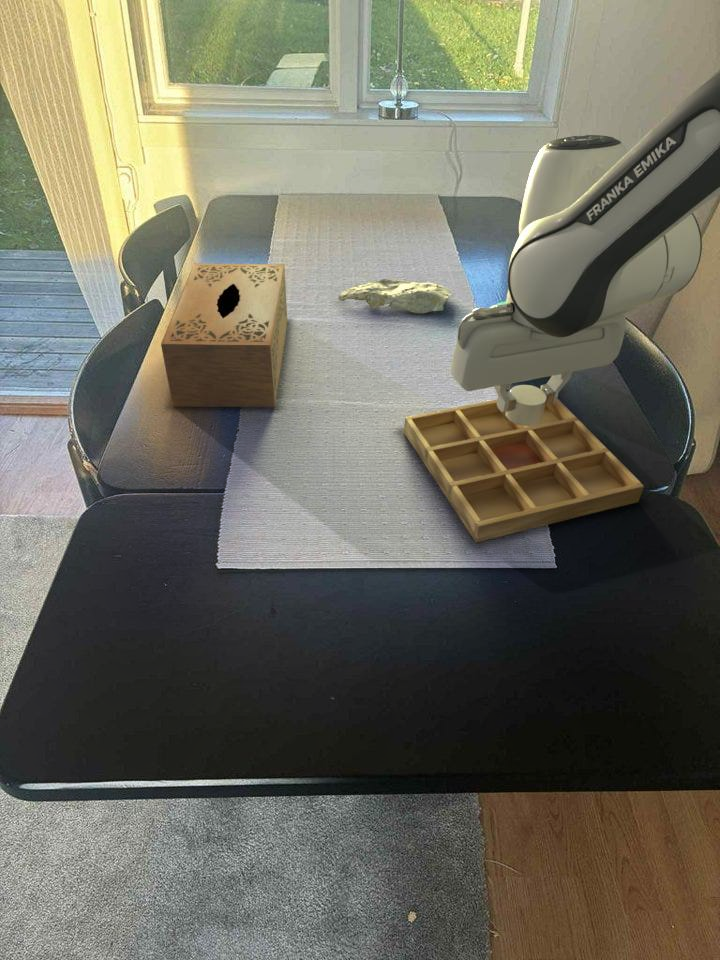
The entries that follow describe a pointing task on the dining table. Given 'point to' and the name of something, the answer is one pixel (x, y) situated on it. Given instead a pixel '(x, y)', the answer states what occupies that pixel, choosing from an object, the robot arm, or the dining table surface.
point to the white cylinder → (527, 405)
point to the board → (518, 467)
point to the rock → (400, 295)
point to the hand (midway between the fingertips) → (526, 404)
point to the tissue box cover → (227, 336)
